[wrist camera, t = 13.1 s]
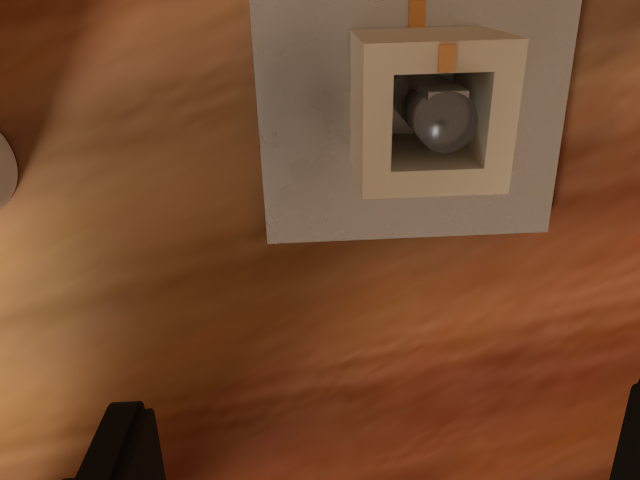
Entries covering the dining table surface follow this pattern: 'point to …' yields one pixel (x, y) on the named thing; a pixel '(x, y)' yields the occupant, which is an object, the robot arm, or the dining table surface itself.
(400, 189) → the hollow square tube
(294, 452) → the dining table surface
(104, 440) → the robot arm
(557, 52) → the square peg base
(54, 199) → the dining table surface
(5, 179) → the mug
